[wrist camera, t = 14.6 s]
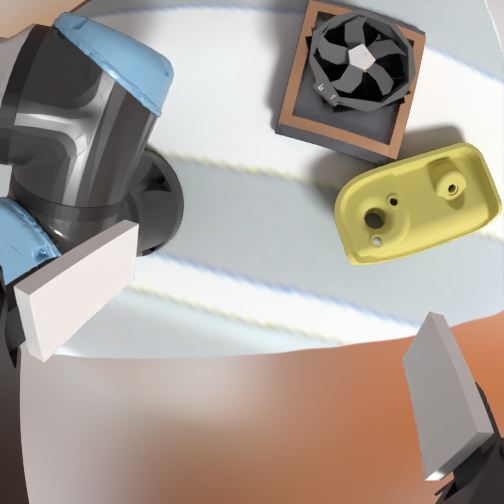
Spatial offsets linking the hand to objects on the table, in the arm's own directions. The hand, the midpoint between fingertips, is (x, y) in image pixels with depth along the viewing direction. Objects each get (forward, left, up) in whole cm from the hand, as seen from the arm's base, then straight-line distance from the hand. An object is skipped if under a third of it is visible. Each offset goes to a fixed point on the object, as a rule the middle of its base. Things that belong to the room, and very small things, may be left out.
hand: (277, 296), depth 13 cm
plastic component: (+13, +2, -27) cm, 30 cm away
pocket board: (+2, +14, -27) cm, 30 cm away
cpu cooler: (+2, +15, -24) cm, 28 cm away
